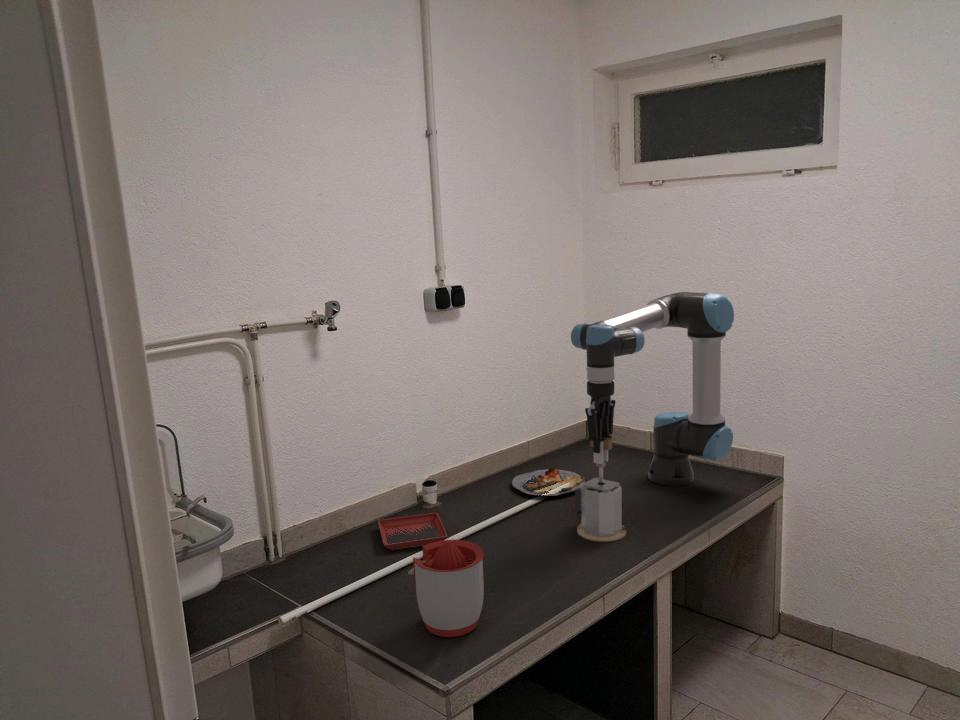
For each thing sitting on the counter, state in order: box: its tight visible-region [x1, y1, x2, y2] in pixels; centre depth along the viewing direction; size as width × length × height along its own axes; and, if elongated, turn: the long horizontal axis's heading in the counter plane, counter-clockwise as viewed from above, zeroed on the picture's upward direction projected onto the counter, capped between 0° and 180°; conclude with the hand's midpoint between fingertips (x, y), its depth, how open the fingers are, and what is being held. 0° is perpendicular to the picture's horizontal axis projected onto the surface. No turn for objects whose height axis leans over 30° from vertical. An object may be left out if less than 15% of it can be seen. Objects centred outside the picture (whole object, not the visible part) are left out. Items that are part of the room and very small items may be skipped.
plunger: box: [589, 437, 613, 492], centre depth 207 cm, size 7×7×19 cm
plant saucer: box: [377, 512, 448, 550], centre depth 212 cm, size 18×18×3 cm
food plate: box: [511, 467, 587, 497], centre depth 248 cm, size 25×23×4 cm
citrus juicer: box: [407, 539, 485, 638], centre depth 163 cm, size 16×17×20 cm
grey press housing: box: [574, 477, 627, 543], centre depth 210 cm, size 14×15×15 cm
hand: (600, 461), depth 207 cm, fingers closed on plunger, 2 cm apart
